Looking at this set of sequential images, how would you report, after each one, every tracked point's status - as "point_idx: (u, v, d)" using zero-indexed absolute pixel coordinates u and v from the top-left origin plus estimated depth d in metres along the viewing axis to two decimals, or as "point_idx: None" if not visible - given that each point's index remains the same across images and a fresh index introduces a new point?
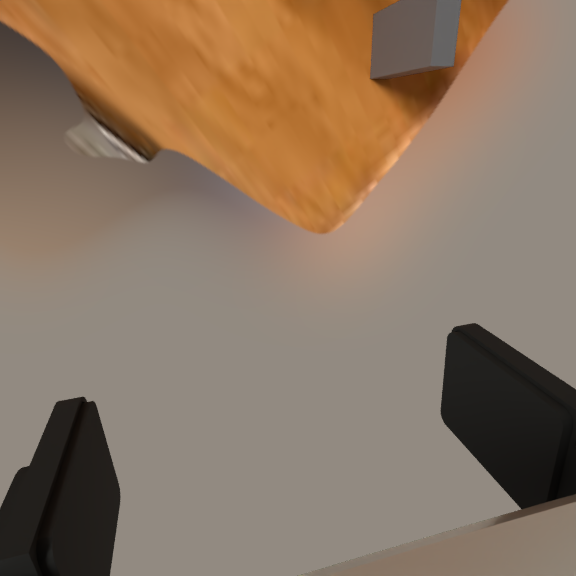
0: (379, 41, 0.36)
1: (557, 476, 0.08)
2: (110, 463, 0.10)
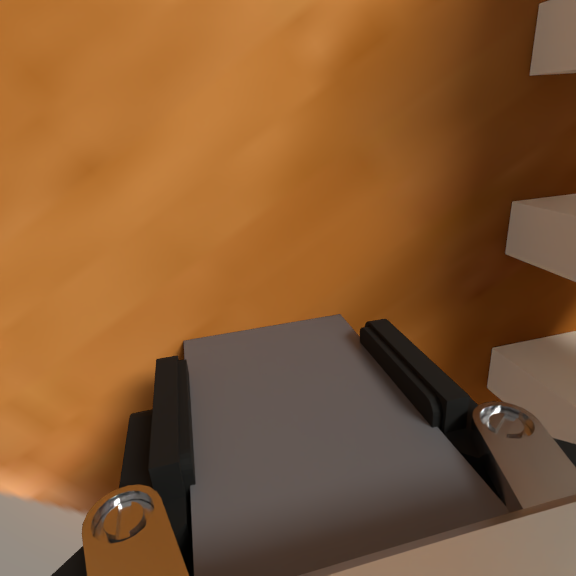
0: (281, 348, 0.12)
1: None
2: None
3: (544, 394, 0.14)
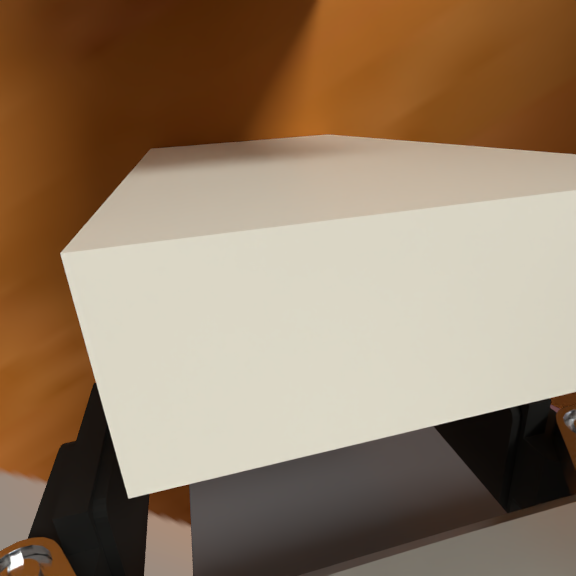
0: None
1: (510, 466, 0.09)
2: None
3: None
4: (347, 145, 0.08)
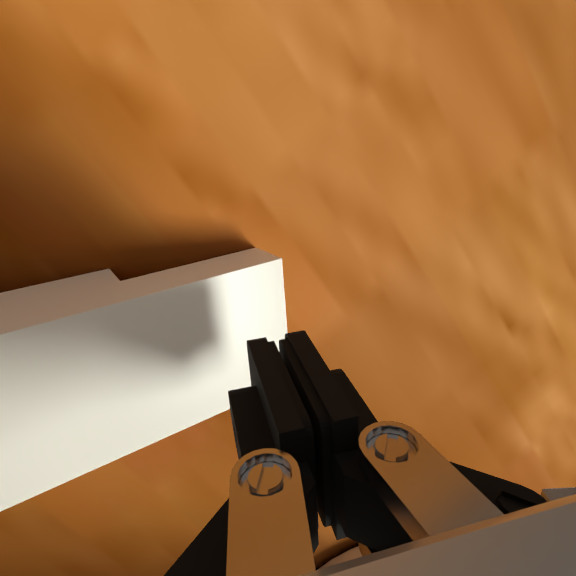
0: None
1: (329, 481, 0.09)
2: None
3: None
4: None
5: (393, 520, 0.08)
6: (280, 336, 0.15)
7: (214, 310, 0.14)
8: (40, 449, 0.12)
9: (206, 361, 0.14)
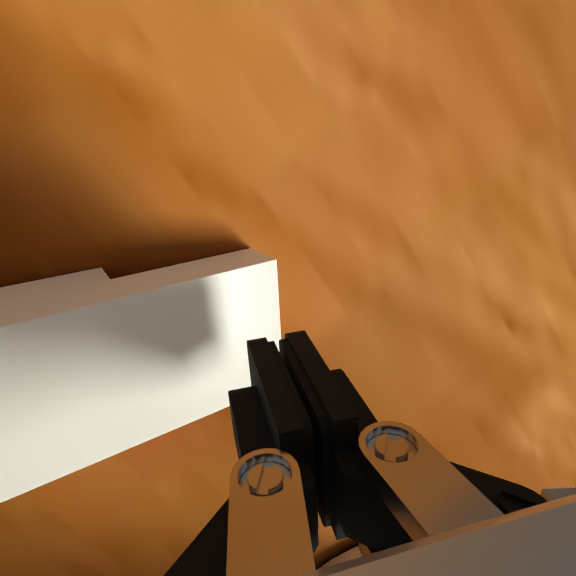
0: None
1: (329, 481, 0.09)
2: None
3: None
4: None
5: (393, 520, 0.08)
6: (273, 337, 0.15)
7: (206, 310, 0.14)
8: (27, 447, 0.12)
9: (198, 361, 0.14)
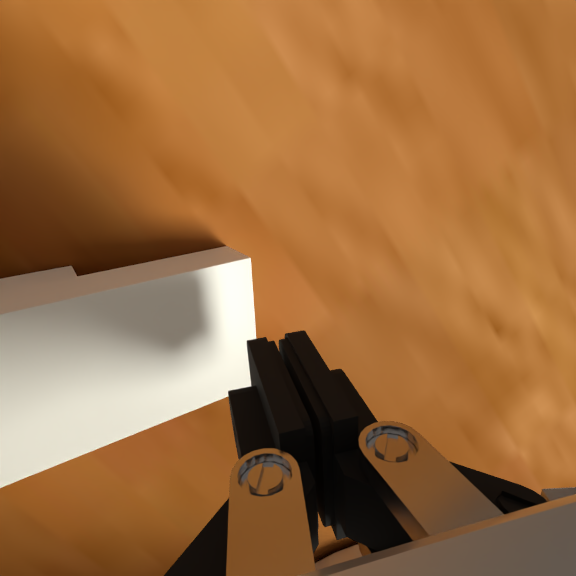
0: None
1: (329, 481, 0.09)
2: None
3: None
4: None
5: (393, 520, 0.08)
6: (248, 337, 0.15)
7: (177, 309, 0.13)
8: None
9: (168, 360, 0.14)
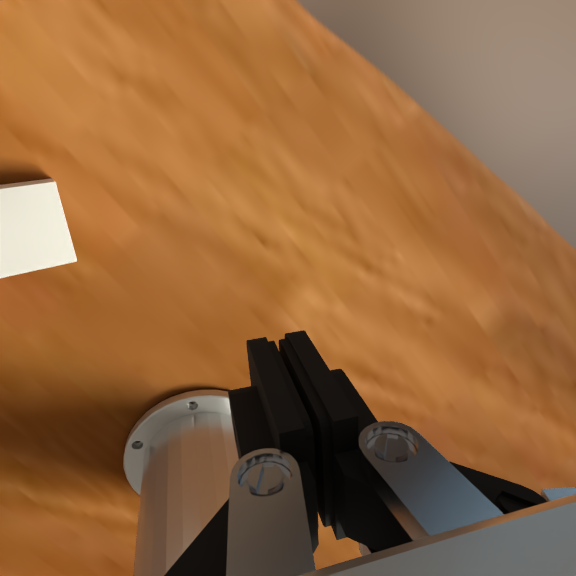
0: None
1: (329, 482, 0.09)
2: None
3: None
4: None
5: (393, 520, 0.08)
6: (62, 230, 0.26)
7: (8, 208, 0.24)
8: None
9: (8, 238, 0.25)
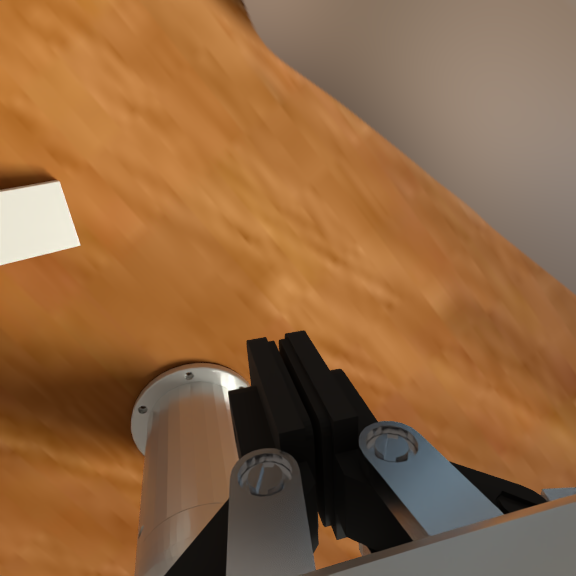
0: None
1: (329, 481, 0.09)
2: None
3: None
4: None
5: (393, 520, 0.08)
6: (67, 220, 0.33)
7: (24, 204, 0.31)
8: None
9: (24, 228, 0.31)
